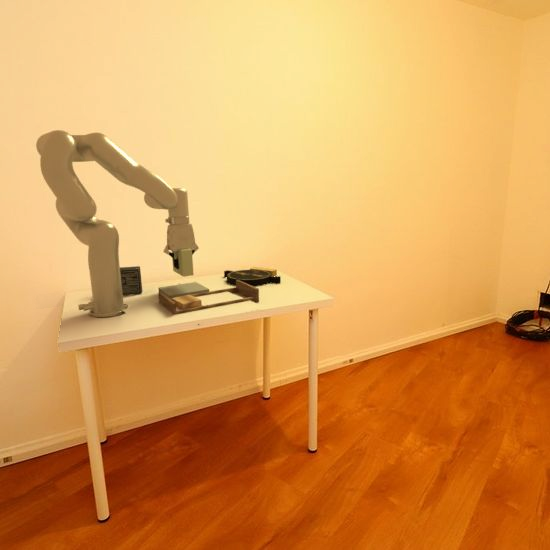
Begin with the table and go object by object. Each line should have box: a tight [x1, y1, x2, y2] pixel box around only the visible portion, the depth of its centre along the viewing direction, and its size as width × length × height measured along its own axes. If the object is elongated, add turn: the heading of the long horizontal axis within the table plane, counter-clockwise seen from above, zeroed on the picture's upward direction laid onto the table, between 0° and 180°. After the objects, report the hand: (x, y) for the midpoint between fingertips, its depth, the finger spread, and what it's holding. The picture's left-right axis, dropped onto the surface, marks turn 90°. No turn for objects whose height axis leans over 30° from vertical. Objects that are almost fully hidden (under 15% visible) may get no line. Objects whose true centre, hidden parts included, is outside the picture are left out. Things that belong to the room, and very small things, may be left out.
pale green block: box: [171, 249, 194, 277], centre depth 151 cm, size 4×12×10 cm, turn 33°
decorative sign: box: [223, 266, 282, 287], centre depth 177 cm, size 29×3×25 cm
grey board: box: [157, 281, 210, 298], centre depth 153 cm, size 16×14×2 cm
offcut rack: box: [157, 280, 260, 316], centre depth 141 cm, size 32×16×5 cm, turn 123°
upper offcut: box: [172, 295, 202, 310], centre depth 136 cm, size 7×9×2 cm
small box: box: [120, 265, 143, 296], centre depth 155 cm, size 11×6×10 cm, turn 104°
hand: (182, 267), depth 151 cm, fingers closed on pale green block, 4 cm apart
